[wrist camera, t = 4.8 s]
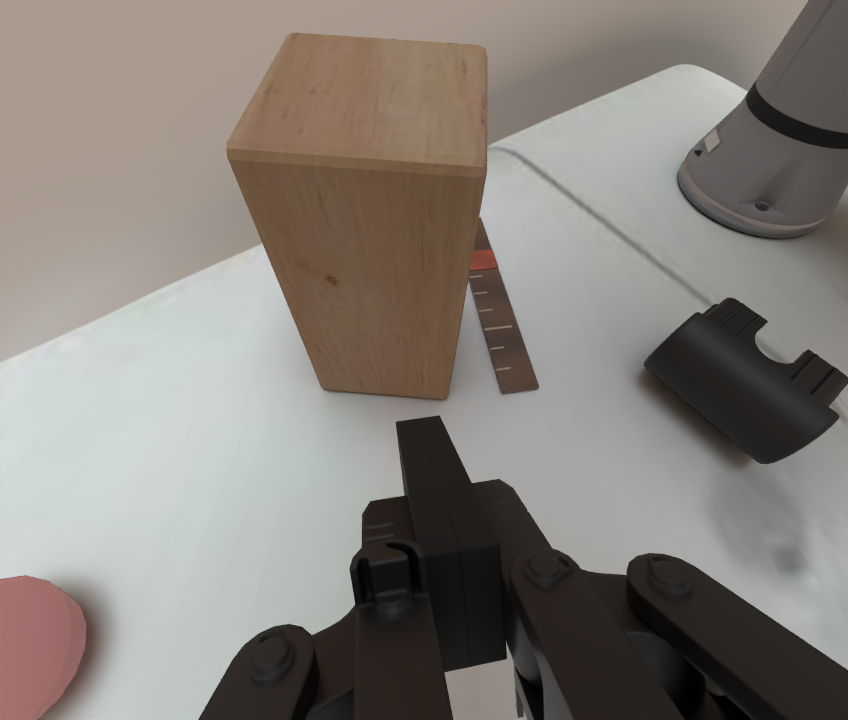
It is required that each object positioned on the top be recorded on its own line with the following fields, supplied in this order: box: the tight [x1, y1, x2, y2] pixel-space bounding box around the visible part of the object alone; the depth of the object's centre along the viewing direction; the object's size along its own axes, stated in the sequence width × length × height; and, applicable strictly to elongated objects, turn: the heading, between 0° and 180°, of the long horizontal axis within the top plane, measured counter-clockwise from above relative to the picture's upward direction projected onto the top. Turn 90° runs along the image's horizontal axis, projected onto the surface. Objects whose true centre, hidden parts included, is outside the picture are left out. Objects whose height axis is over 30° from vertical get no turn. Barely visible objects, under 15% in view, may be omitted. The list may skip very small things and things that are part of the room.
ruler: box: [468, 217, 539, 394], centre depth 38 cm, size 20×3×1 cm, turn 9°
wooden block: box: [227, 33, 487, 399], centre depth 26 cm, size 10×10×20 cm
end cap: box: [644, 298, 848, 464], centre depth 30 cm, size 10×7×7 cm
